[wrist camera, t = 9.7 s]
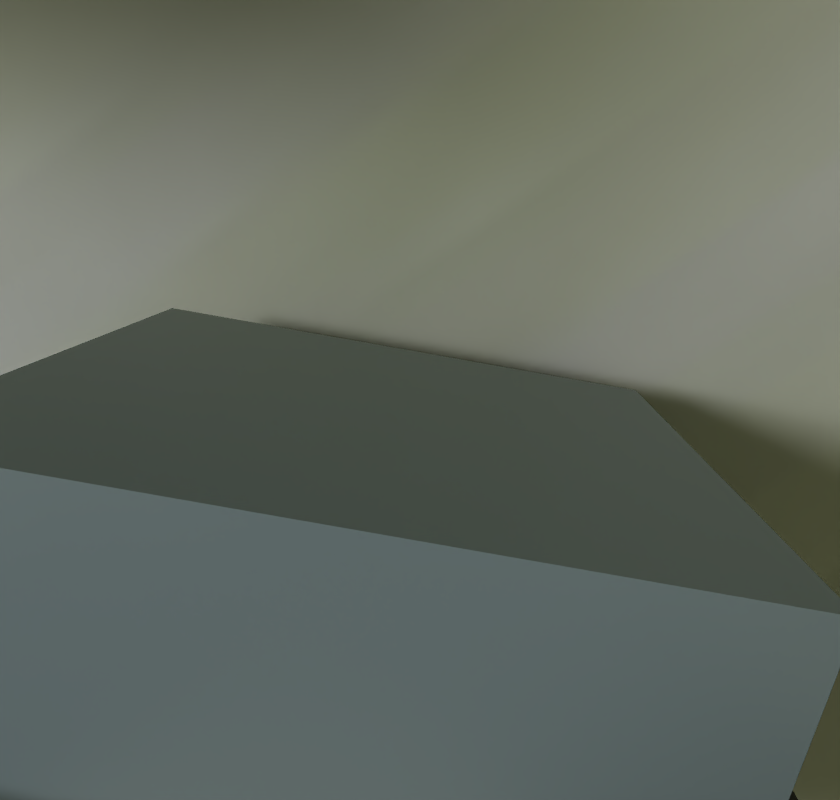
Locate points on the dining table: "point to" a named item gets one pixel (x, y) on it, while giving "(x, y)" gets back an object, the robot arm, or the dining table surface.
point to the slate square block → (381, 583)
